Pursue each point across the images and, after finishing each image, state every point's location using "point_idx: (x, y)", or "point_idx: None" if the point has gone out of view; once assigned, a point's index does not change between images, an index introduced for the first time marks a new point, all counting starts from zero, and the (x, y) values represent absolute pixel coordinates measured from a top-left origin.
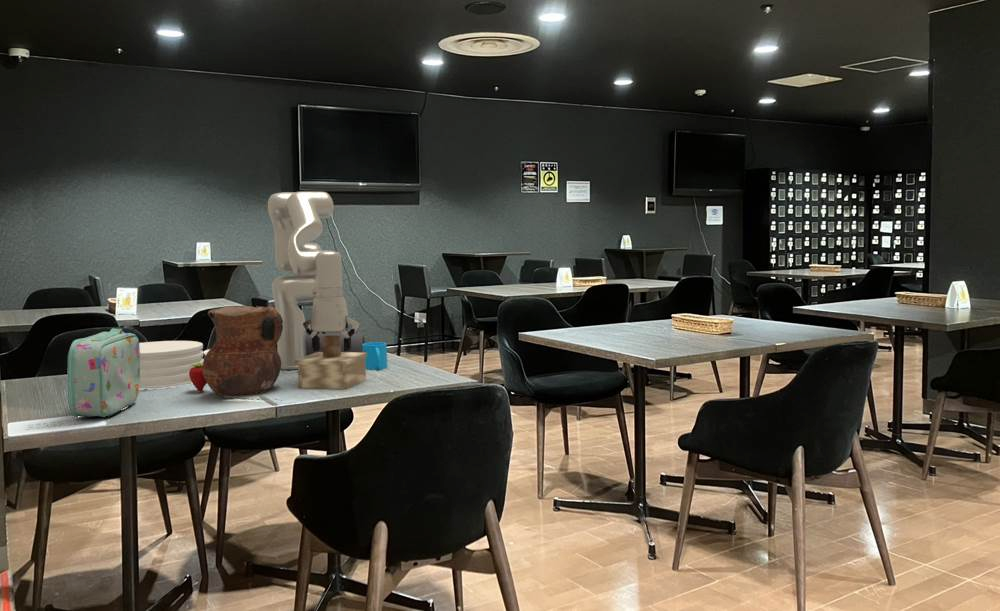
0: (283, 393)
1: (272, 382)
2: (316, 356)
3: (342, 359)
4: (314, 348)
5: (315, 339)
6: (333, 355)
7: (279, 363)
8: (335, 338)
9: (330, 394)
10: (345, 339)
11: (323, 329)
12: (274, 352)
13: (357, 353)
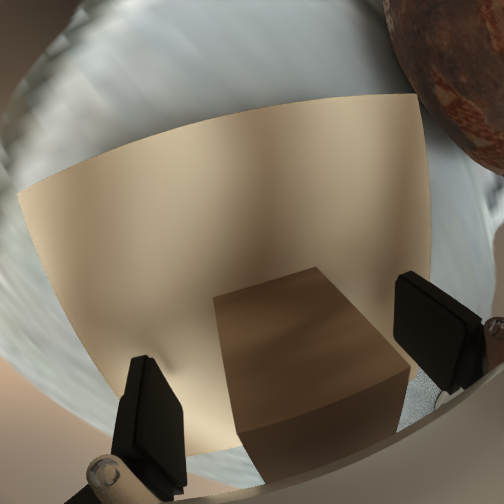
0: (347, 67)
1: (393, 32)
2: (374, 272)
3: (83, 230)
4: (414, 280)
5: (456, 327)
6: (232, 299)
7: (444, 47)
8: (238, 426)
9: (139, 105)
10: (117, 438)
11: (449, 439)
12: (492, 18)
13: (192, 436)
